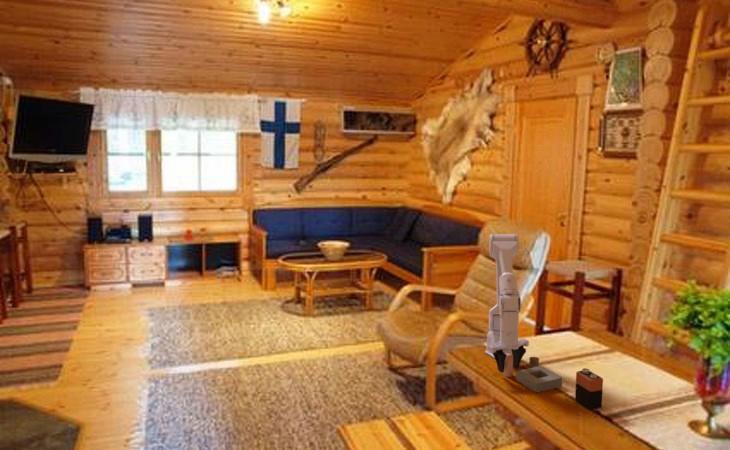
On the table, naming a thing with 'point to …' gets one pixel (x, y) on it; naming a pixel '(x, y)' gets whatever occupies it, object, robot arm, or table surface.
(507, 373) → the long peg
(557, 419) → the table surface
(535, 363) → the short peg
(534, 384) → the hole block
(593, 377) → the battery
